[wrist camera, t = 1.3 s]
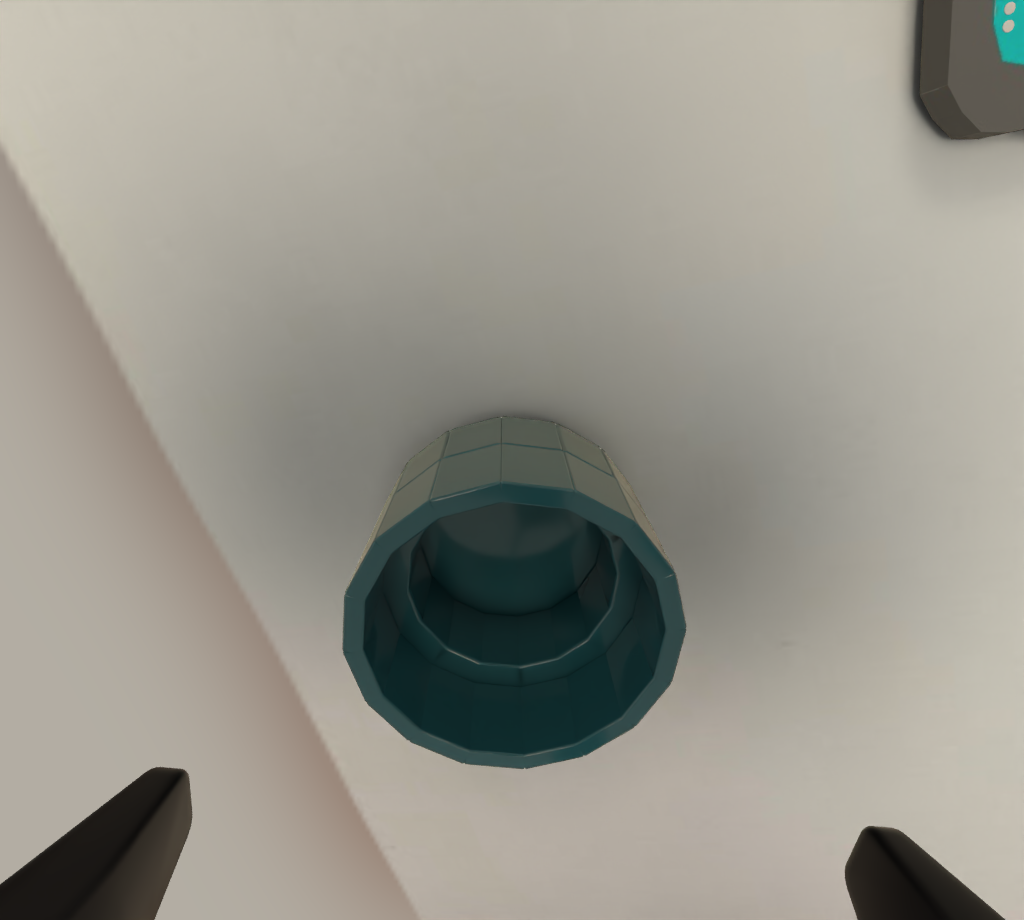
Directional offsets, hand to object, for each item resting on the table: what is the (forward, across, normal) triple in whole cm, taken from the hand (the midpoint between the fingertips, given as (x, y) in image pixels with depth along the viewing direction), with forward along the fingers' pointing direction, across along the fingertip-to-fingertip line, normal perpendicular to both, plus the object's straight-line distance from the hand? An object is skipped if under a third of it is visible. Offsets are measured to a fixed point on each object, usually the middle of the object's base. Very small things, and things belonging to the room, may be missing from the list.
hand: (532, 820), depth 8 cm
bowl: (+8, 0, 0) cm, 8 cm away
